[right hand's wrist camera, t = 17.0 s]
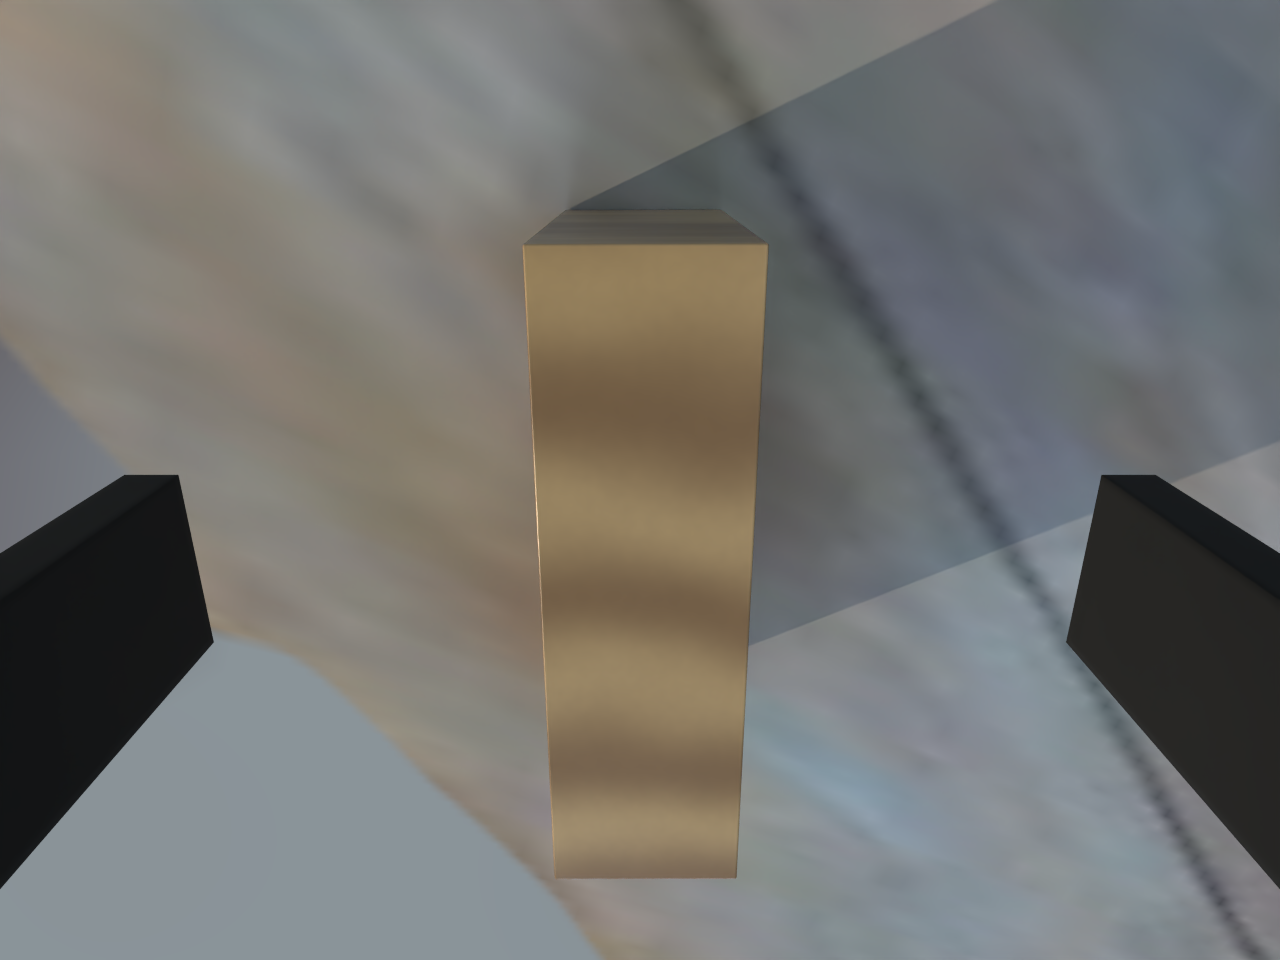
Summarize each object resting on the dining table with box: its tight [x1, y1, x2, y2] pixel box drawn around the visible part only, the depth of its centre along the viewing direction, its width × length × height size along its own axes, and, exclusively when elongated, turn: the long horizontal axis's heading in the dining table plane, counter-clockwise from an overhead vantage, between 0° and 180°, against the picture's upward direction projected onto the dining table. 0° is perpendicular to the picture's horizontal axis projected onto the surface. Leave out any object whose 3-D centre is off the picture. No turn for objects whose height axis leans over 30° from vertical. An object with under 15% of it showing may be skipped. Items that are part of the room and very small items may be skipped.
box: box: [523, 210, 769, 879], centre depth 30 cm, size 20×6×13 cm, turn 0°
